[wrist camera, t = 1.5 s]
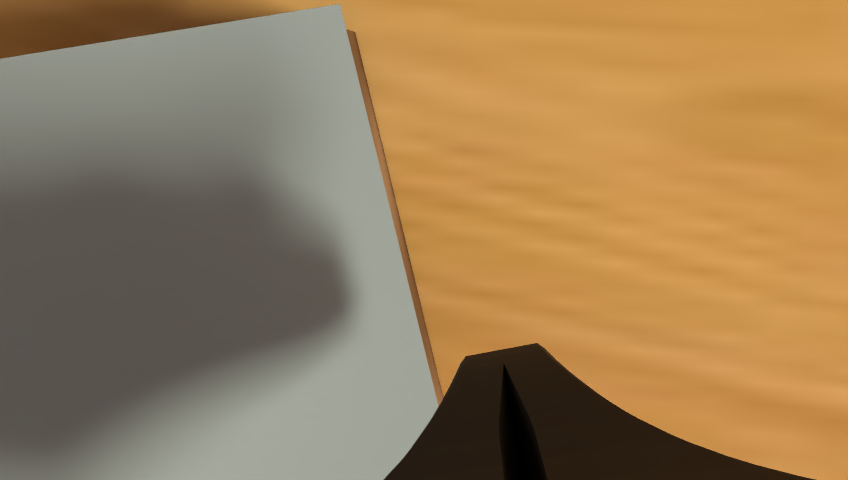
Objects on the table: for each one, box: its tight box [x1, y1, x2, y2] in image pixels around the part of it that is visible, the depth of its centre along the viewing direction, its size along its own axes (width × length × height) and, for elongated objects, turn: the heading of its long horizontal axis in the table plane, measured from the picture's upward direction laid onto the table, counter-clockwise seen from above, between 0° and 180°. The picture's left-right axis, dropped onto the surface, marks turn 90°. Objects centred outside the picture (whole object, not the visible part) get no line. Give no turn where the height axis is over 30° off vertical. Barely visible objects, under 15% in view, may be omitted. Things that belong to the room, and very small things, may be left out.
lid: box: [0, 4, 438, 480], centre depth 14 cm, size 15×11×3 cm
